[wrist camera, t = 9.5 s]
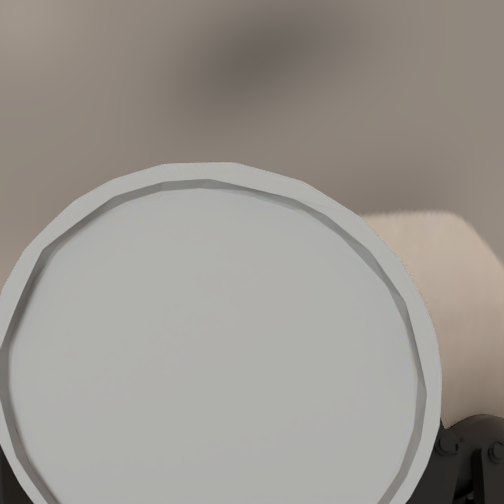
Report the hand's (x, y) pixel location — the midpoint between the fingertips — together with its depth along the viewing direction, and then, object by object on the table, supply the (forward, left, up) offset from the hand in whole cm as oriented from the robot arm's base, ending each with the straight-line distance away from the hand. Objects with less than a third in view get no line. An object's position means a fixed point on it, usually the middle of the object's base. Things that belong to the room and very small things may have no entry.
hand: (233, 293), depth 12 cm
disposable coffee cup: (0, +3, -5) cm, 6 cm away
